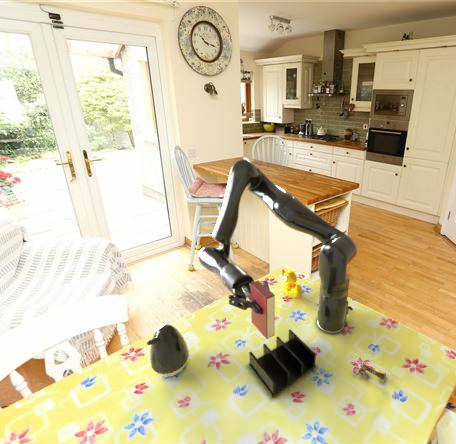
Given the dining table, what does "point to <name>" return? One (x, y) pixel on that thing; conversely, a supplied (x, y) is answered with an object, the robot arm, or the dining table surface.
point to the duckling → (291, 284)
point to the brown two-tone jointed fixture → (372, 371)
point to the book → (263, 309)
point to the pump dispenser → (168, 351)
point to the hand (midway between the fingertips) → (266, 309)
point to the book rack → (283, 363)
